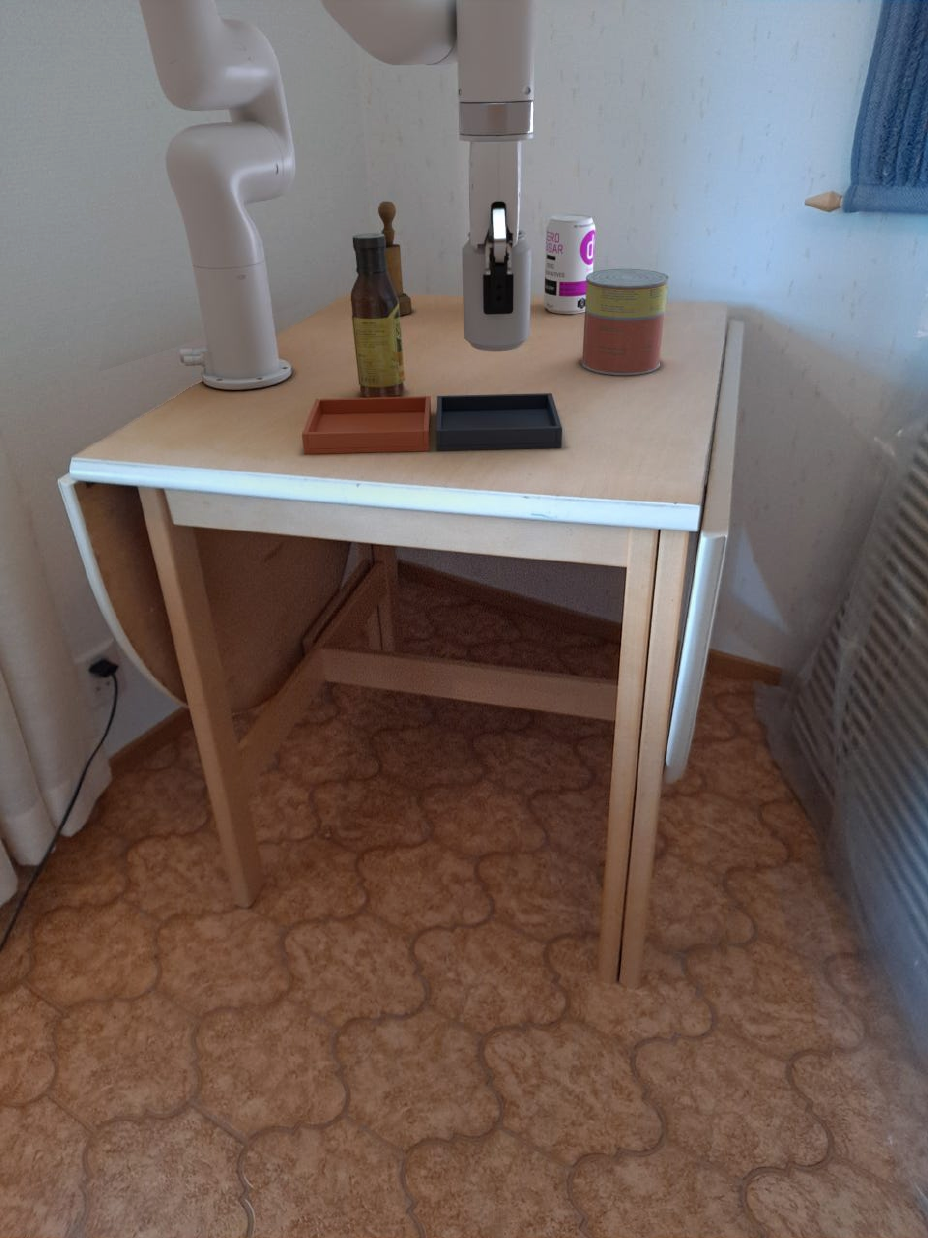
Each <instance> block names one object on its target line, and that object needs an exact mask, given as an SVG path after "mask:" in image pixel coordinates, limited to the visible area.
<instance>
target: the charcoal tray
mask: <svg viewBox="0 0 928 1238" xmlns="http://www.w3.org/2000/svg"><path fill="white" fill-rule="evenodd" d="M435 410H436V411H435V413H436V414H435V449H436V451H440V452H441V451H473V450H475V451H477V450H478V451H479V450H480V451H481V450H514V449H515V450H517V449H518V450H519V449H557V448H558V449H559V448H562V445H563V443H562V441H563V427H562V423H561V419H560V415H559V413H558V410H557V407H556V403H555V399H554V396H553V393H552V392H540V393H539V392H537V393H500V394H499V393H498V394H495V393H494V394H461V395H460V394H459V395H457V394H456V395H454V394H453V395H437V396H436V409H435Z"/></svg>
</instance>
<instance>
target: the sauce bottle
mask: <svg viewBox="0 0 928 1238" xmlns="http://www.w3.org/2000/svg"><path fill="white" fill-rule="evenodd" d="M352 247H353V251H354V254H355V262H356V263H355V264H356V268H355V271H356V273H357V277H356V279H355V282H354V284H353V286H352V288H351V291H350V303H351V304H350V305H351V322H352V324H351V325H352V333H353V341H354V352H355V353H354V354H355V360H356V362H355V363H356V369H357V380H358V385H359V386H360V394H361V396H362V398H373V397H401V396H402V395H403V394H404V392H405V383H404V382H405V381H406V376H405V375H406V373H405V362H404V348H403V347H404V346H403V335H402V334H403V333H402V323H401V322H402V321H401V316H400V308H399V299H398V297H397V294H396V292H395V289H394V287H393V284H392V281H391V279H390V276H389V274H388V271H387V267H386V257H385V247H386V241H385V235H384V234H382V233H379V232H365V233H360V234H355V235H353V236H352Z"/></svg>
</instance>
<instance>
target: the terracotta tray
mask: <svg viewBox="0 0 928 1238" xmlns="http://www.w3.org/2000/svg"><path fill="white" fill-rule="evenodd" d="M431 398H432V397H431V395H426V396H425V395H421V396H419V395H417V396H398V397H373V398H366V397H345V398H344V397H337V398H335V397H333V398H316V399H315V401H314V403H313V405H312V408H311V411H310V413H309V416H308V418H307V421H306V423H305V426H304V428H303V430H302V433H301V437H302V438H301V439H302V445H303V453H304V455H314V454H315V455H316V454H318V455H320V454H355V453H356V454H360V453H361V454H362V453H395V452H396V453H397V452H399V453H400V452H430V447H431V444H430V443H431V429H432V428H431V427H432V399H431Z"/></svg>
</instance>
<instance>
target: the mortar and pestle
mask: <svg viewBox="0 0 928 1238" xmlns="http://www.w3.org/2000/svg"><path fill="white" fill-rule="evenodd" d="M377 213H378V216H379V218H380V220H381V222H382V224H383V227H382V228H383V229H382V230H381V234H384V235H385V241H386V247H385V257H386V267H387V271H388V274H389V276H390V279H391V281H392V284H393V287H394V289H395V292H396V294H397V297H398V299H399V308H400V317H401V316H406V315H409V314H411V313H412V299H411V297H410V296H409V295H408V294H407V293H405V292H404V283H403V271H402V269H403V268H402V254H401V253H402V252H401V250H402V249H401V244H399V243H398V244H397V243H394V240H395V235H396V231H395V230H394V228H393V221H394V219H395V217H396V213H397V207H396V206H395V204H394V203H393V202H392V201H388V200H387V201H381V202H380V203H379V205H378V208H377Z"/></svg>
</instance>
